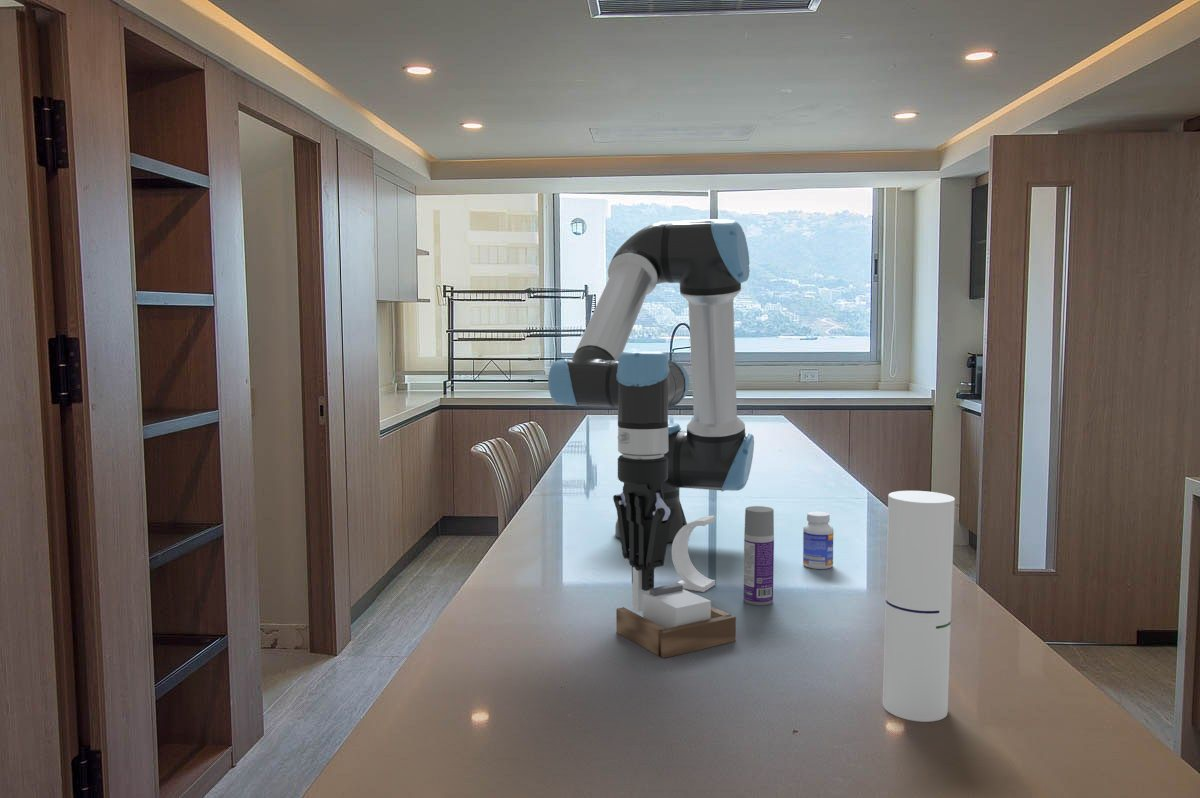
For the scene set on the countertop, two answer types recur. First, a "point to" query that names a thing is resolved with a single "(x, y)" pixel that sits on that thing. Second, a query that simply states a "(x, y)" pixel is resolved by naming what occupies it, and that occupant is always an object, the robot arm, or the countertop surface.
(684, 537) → the headphone stand
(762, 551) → the container
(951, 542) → the cylindrical container
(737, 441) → the robot arm
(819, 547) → the pill bottle
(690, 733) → the countertop surface
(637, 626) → the bay
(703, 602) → the matte white cube
